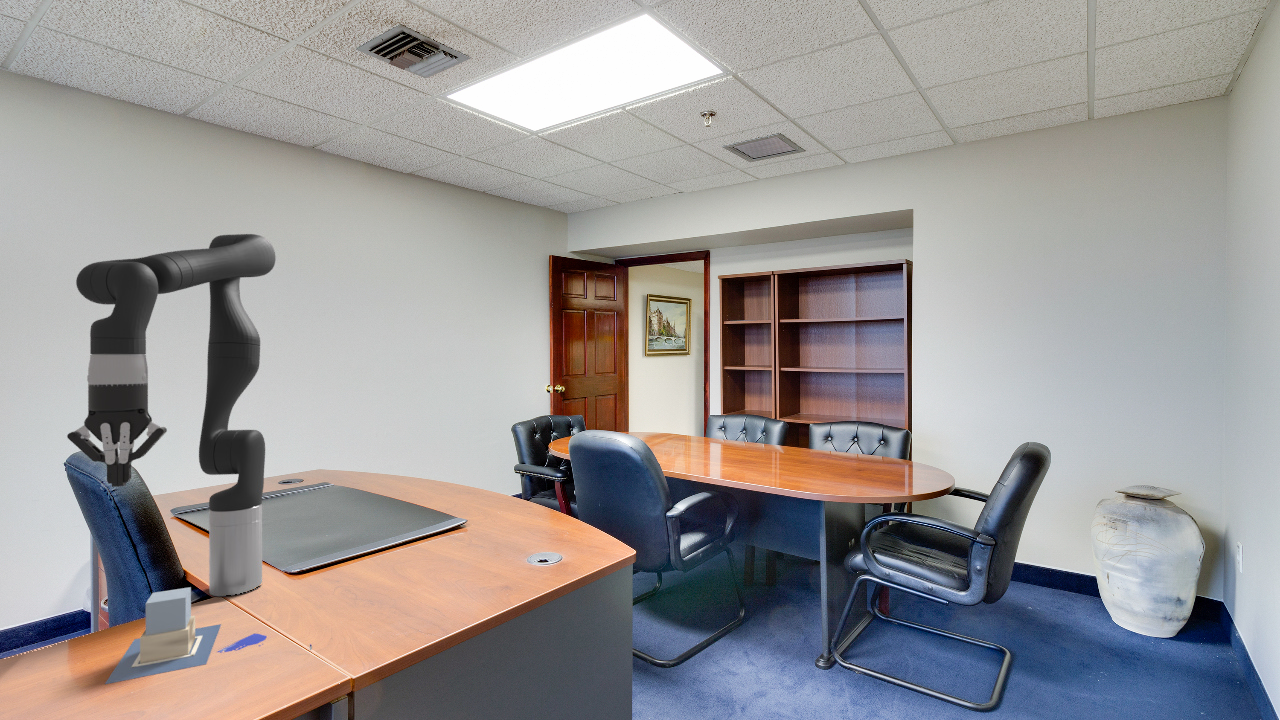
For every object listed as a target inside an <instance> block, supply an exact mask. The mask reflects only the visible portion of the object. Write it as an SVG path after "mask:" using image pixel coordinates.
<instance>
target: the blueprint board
mask: <svg viewBox="0 0 1280 720" xmlns="http://www.w3.org/2000/svg"><path fill="white" fill-rule="evenodd" d="M221 626H222V623H219V624H214V625H209V626H207V625H206V626H203V627H197V628H196V627H195V641H194V643H193V645H192V648H191V650H190V652H189V654H188V655H184V656H179V657H173V658H168V659H163V660H157V661H152V662H147V663H142V664H140V637H139V638H134V640H133V641H132V642H131V644H130V645H129V647H128V649H127V650H126V652H125V653H124V655H123V656H122V658H121V659H120V660H119V662H118V663H117V665H116V666H115V668H114V670H113V671H112V672H111V674H110V675H109V677H108V679H107V680H106V681H105V683H104V685H108V684H114V683H119V682H120V683H121V682H123V681H129V680H133V679H139V678H145V677H149V676H154V675H155V676H156V675H160V674H163V673H165V674H166V673H169V672H173V671H179V670H184V669H189V668H190V669H191V668H193V667H194V668H195V667H200V666H204V665H207V663H208V661H209V657H210V656H211V652H212V650H213V647H214V646H215V645H214V644H215V642H216V639H217V637H218V634H219V631H220V629H221Z"/></svg>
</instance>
